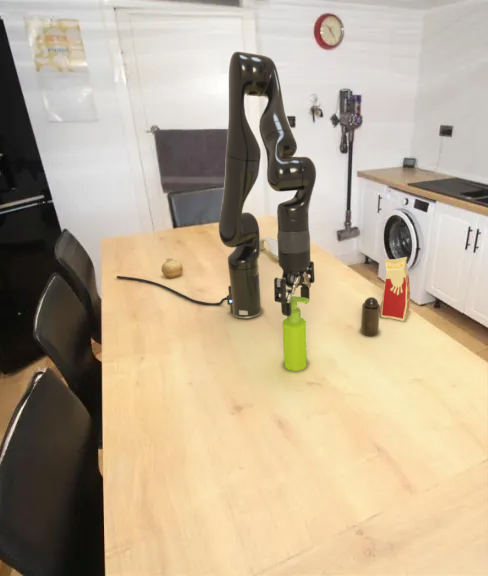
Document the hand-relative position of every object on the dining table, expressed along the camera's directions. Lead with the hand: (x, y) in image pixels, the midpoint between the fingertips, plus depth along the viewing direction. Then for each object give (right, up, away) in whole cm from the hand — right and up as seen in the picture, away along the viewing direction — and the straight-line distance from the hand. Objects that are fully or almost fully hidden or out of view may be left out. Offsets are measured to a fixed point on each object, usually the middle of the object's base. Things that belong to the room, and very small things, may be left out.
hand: (296, 307), depth 102 cm
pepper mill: (+21, -8, +22) cm, 32 cm away
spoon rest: (-14, +19, +80) cm, 84 cm away
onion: (-53, +10, +61) cm, 81 cm away
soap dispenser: (0, -16, +7) cm, 17 cm away
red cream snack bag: (+30, -3, +33) cm, 45 cm away
